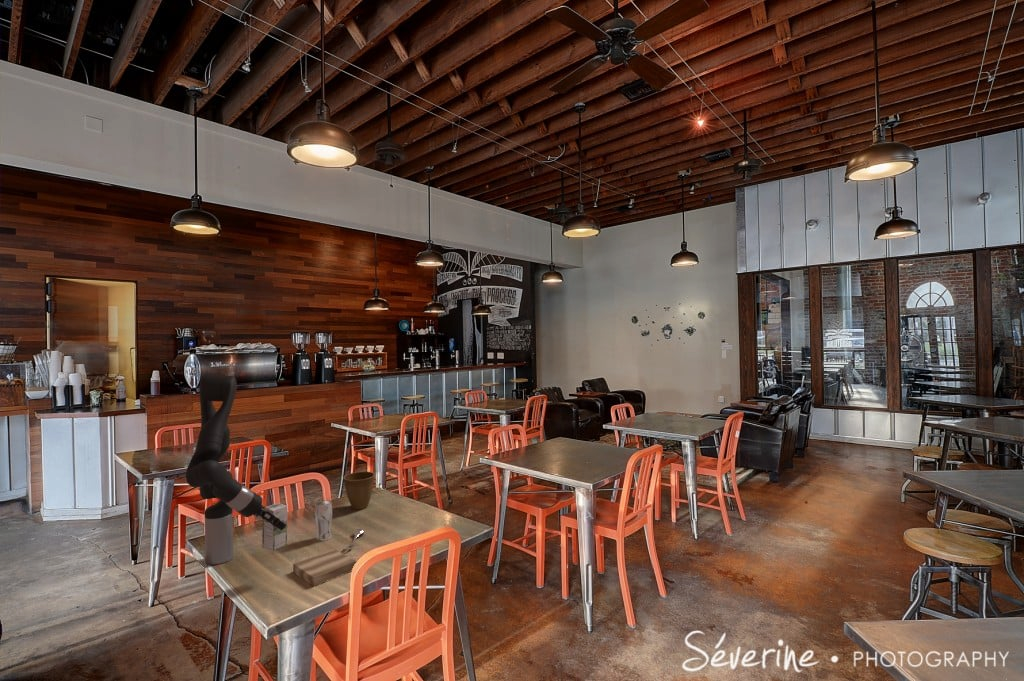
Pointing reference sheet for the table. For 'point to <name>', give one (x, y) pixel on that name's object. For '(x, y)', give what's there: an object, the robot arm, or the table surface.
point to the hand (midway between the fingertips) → (279, 524)
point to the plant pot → (359, 488)
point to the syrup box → (275, 529)
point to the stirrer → (356, 533)
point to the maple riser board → (323, 567)
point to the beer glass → (323, 519)
